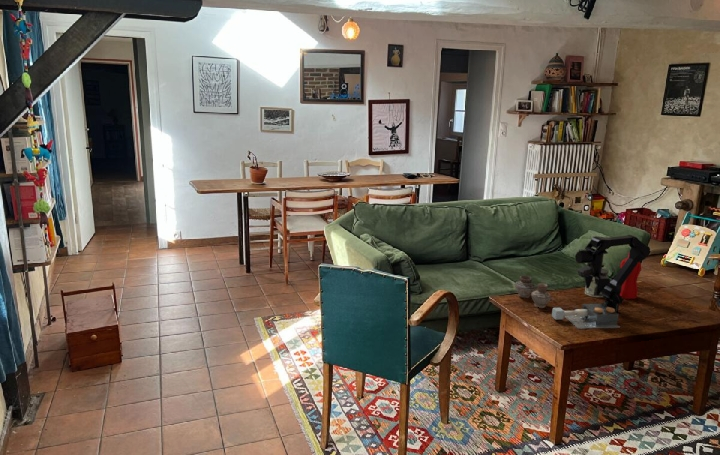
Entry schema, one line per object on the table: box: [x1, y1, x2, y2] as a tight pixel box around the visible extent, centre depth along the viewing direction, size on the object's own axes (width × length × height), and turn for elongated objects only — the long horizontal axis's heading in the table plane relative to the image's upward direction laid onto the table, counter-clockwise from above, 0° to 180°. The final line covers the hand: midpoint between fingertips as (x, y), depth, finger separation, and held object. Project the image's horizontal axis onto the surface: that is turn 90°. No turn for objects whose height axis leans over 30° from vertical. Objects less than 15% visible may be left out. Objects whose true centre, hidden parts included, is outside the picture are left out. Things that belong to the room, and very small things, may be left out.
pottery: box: [514, 275, 552, 309], centre depth 284 cm, size 11×25×12 cm, turn 17°
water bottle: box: [619, 253, 642, 300], centre depth 290 cm, size 9×11×25 cm
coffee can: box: [584, 268, 609, 298], centre depth 295 cm, size 10×10×14 cm
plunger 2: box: [606, 307, 615, 313], centre depth 256 cm, size 4×4×4 cm
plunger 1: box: [594, 308, 603, 314], centre depth 256 cm, size 4×4×4 cm
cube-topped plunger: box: [551, 307, 589, 320], centre depth 261 cm, size 20×4×4 cm, turn 97°
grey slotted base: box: [563, 303, 621, 330], centre depth 260 cm, size 21×16×7 cm
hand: (592, 291), depth 267 cm, fingers open, 9 cm apart
